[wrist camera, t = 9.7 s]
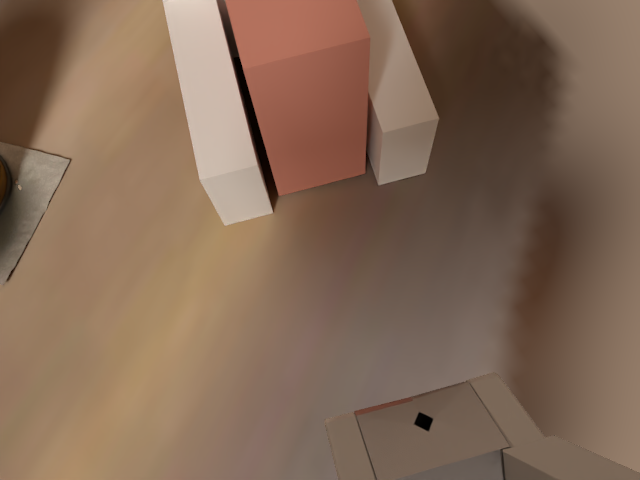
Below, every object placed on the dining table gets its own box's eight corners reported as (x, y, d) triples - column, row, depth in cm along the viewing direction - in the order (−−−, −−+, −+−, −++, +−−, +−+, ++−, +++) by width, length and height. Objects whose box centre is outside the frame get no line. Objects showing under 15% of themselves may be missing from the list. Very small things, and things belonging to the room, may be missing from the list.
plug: (365, 173, 29) (370, 37, 20) (279, 196, 29) (243, 69, 19) (320, 37, 32) (306, -136, 23) (242, 56, 32) (196, -110, 23)
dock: (425, 173, 29) (450, 73, 22) (225, 225, 29) (179, 142, 21) (362, 4, 33) (364, -128, 26) (186, 48, 33) (136, -74, 25)
